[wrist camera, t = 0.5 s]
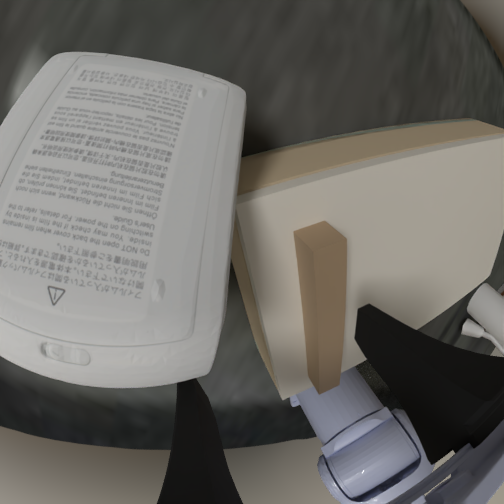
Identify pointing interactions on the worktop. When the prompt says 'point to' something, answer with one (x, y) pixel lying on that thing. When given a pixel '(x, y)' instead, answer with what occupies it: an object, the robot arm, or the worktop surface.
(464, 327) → the fire extinguisher
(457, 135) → the box
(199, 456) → the robot arm
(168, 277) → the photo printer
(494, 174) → the sliding box lid
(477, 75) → the worktop surface
